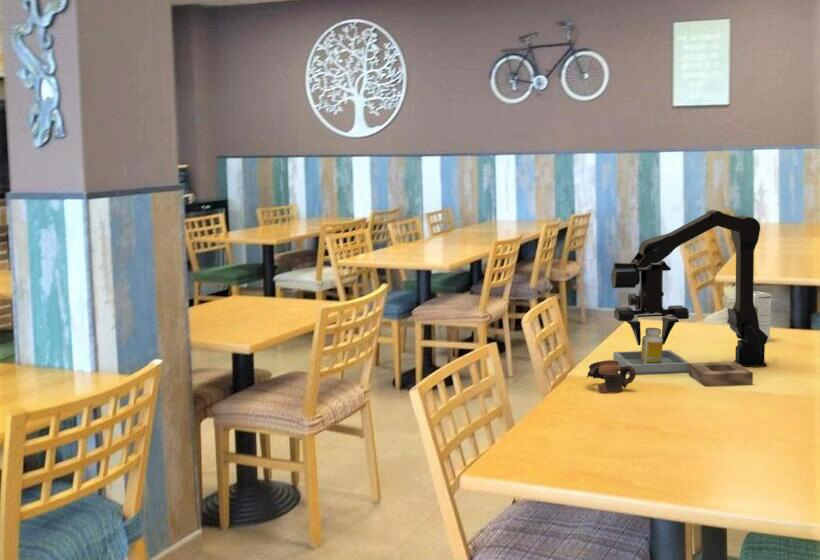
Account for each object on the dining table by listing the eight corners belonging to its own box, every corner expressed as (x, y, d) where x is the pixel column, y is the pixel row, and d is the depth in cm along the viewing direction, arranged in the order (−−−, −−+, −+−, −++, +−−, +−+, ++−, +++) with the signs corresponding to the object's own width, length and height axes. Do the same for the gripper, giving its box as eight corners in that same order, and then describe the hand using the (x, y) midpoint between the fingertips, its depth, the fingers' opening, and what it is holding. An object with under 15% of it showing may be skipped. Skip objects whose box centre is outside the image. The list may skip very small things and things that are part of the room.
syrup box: (741, 339, 293) (742, 292, 290) (758, 338, 294) (759, 290, 292) (753, 343, 287) (755, 294, 285) (770, 341, 289) (772, 293, 287)
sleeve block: (734, 372, 253) (734, 361, 253) (752, 384, 241) (752, 372, 241) (688, 374, 253) (688, 363, 252) (704, 386, 241) (705, 374, 240)
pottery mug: (587, 395, 237) (581, 363, 240) (596, 403, 245) (590, 371, 248) (636, 385, 233) (629, 353, 236) (643, 394, 241) (637, 362, 244)
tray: (670, 358, 270) (670, 350, 270) (689, 372, 255) (689, 363, 254) (613, 360, 270) (613, 352, 269) (629, 374, 254) (629, 365, 253)
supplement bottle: (636, 363, 262) (638, 328, 261) (648, 360, 266) (651, 326, 264) (653, 367, 258) (655, 331, 257) (665, 364, 262) (667, 329, 260)
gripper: (676, 281, 267) (675, 337, 270) (609, 284, 267) (608, 340, 269) (690, 287, 256) (689, 346, 259) (619, 290, 256) (619, 348, 258)
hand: (650, 344), depth 261 cm, fingers open, 6 cm apart
